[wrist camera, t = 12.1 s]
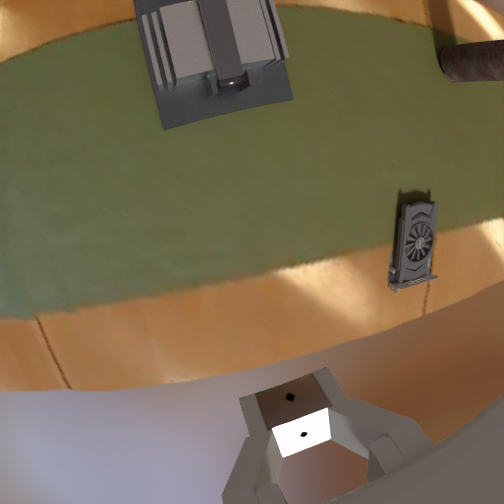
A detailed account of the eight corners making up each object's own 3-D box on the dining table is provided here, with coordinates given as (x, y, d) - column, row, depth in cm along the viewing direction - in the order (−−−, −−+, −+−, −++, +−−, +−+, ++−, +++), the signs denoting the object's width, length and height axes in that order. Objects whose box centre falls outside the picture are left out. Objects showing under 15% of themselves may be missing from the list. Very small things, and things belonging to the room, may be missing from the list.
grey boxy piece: (164, 130, 39) (161, 128, 31) (134, 3, 32) (125, -26, 23) (290, 100, 42) (320, 93, 33) (258, -19, 34) (279, -49, 25)
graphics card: (439, 282, 57) (396, 295, 55) (427, 275, 61) (385, 287, 58) (449, 200, 51) (405, 205, 49) (436, 196, 55) (392, 200, 52)
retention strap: (244, 83, 34) (247, 82, 33) (218, 89, 34) (220, 88, 33) (219, -21, 28) (221, -24, 27) (193, -16, 27) (194, -20, 26)
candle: (432, 66, 44) (518, 60, 26) (440, 39, 42) (522, 28, 24) (456, 89, 47) (539, 92, 28) (463, 62, 45) (542, 60, 27)
